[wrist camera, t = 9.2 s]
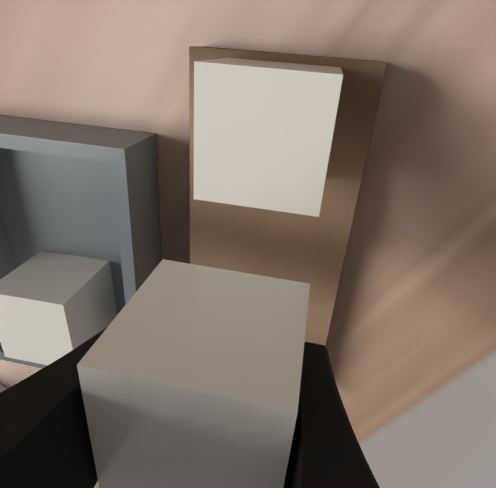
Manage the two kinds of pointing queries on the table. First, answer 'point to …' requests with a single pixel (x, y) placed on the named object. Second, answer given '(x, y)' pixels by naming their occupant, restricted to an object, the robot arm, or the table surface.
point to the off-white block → (263, 132)
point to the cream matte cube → (54, 305)
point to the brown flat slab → (290, 224)
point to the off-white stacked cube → (197, 381)
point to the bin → (79, 199)
